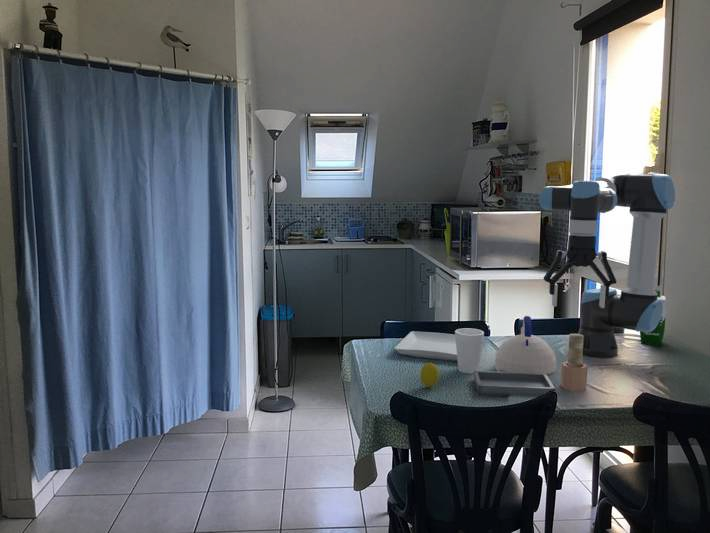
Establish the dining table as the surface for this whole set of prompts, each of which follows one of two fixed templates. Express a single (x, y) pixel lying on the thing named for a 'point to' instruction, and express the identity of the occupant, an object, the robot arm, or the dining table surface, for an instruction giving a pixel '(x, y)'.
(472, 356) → the foam cup
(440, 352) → the square plate
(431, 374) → the lemon
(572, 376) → the pink octagonal cup
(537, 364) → the kettle
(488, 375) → the tray
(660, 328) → the milk carton
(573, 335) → the peg
